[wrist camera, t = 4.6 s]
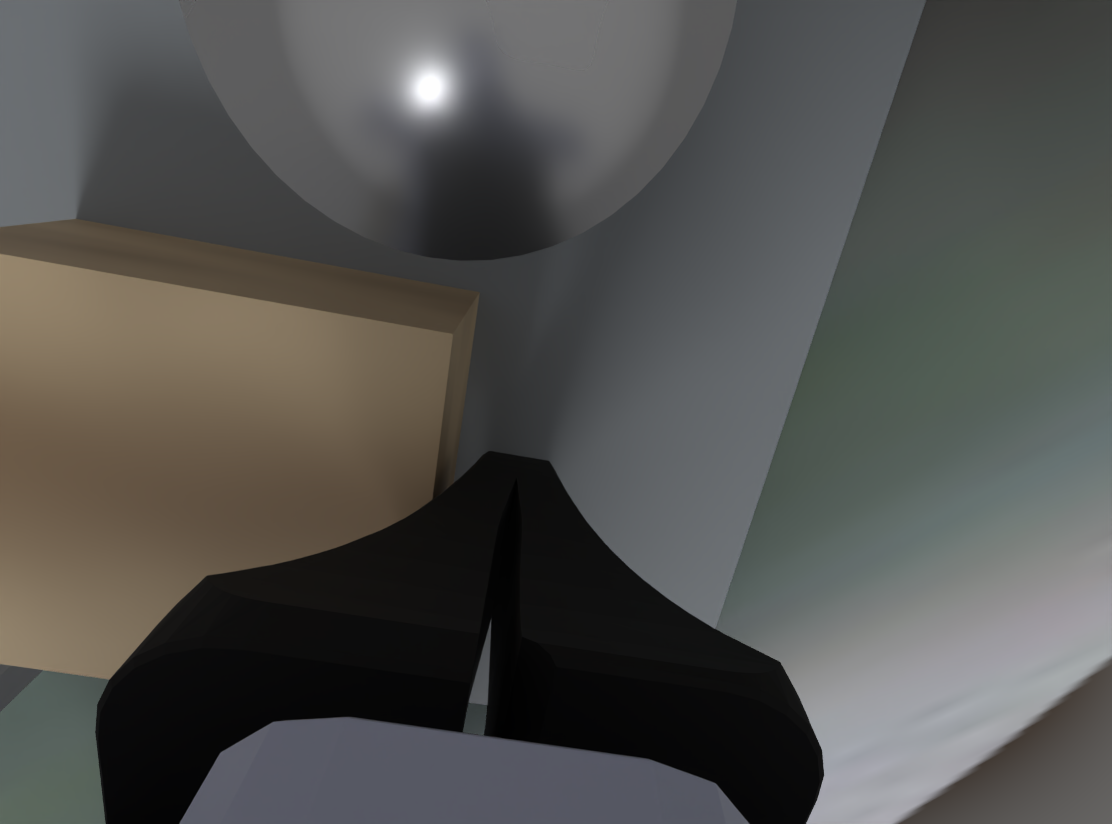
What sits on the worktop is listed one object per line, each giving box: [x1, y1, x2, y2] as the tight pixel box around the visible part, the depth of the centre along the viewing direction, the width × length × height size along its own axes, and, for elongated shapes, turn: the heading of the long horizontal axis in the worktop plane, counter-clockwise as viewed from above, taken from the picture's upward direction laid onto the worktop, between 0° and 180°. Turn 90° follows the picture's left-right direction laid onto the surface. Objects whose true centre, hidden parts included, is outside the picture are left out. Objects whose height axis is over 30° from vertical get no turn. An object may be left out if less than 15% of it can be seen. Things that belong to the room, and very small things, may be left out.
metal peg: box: [179, 0, 737, 261], centre depth 7 cm, size 4×4×6 cm
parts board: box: [0, 0, 926, 712], centre depth 10 cm, size 18×25×3 cm
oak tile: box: [0, 219, 480, 679], centre depth 11 cm, size 7×7×3 cm
